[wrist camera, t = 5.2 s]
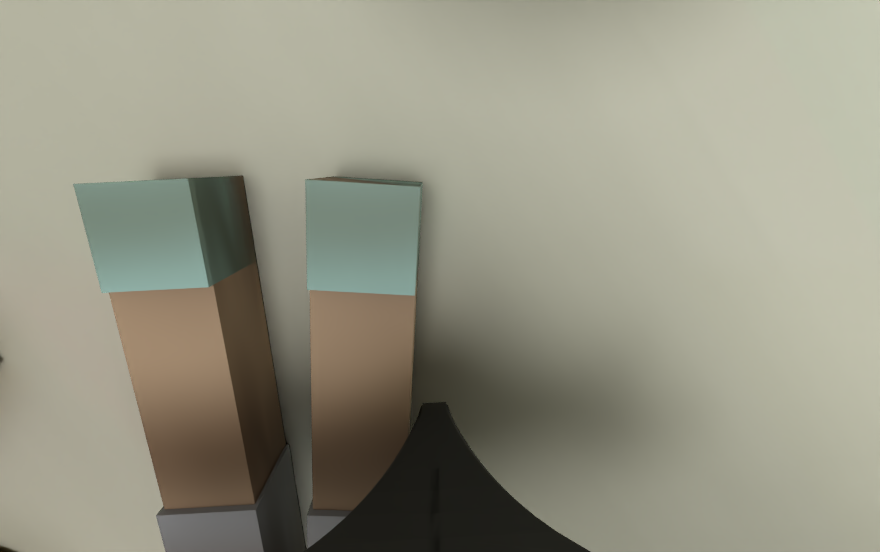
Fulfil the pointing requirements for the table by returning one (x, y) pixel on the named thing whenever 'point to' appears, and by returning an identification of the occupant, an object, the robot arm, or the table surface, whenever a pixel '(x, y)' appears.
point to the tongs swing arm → (359, 335)
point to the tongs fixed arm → (197, 358)
